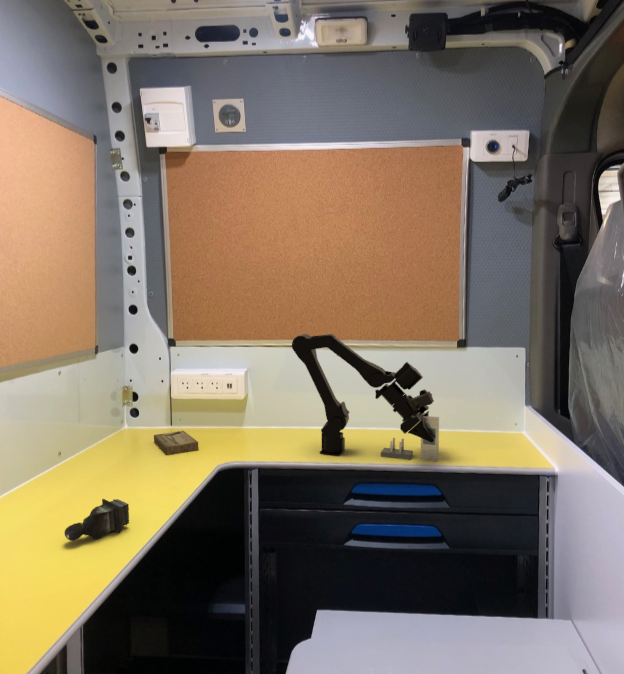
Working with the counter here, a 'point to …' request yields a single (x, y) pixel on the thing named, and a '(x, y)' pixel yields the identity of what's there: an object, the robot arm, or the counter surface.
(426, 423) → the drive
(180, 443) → the box
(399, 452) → the dark grey pegged block
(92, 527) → the dark statue fragment
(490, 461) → the counter surface
